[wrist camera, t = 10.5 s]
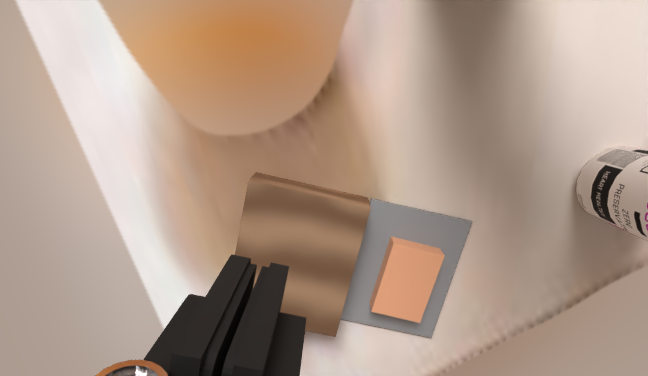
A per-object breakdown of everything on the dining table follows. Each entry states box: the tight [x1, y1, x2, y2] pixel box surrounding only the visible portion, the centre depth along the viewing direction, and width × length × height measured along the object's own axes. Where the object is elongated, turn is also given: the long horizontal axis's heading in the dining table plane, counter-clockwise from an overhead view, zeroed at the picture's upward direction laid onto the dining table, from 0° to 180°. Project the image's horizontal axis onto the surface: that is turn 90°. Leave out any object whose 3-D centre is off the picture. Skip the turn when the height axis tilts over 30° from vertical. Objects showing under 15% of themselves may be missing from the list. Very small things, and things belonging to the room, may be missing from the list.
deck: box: [235, 173, 371, 337], centre depth 42 cm, size 16×13×4 cm
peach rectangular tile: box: [370, 237, 445, 323], centre depth 43 cm, size 9×6×2 cm, turn 166°
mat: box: [340, 199, 472, 338], centre depth 44 cm, size 16×12×1 cm
